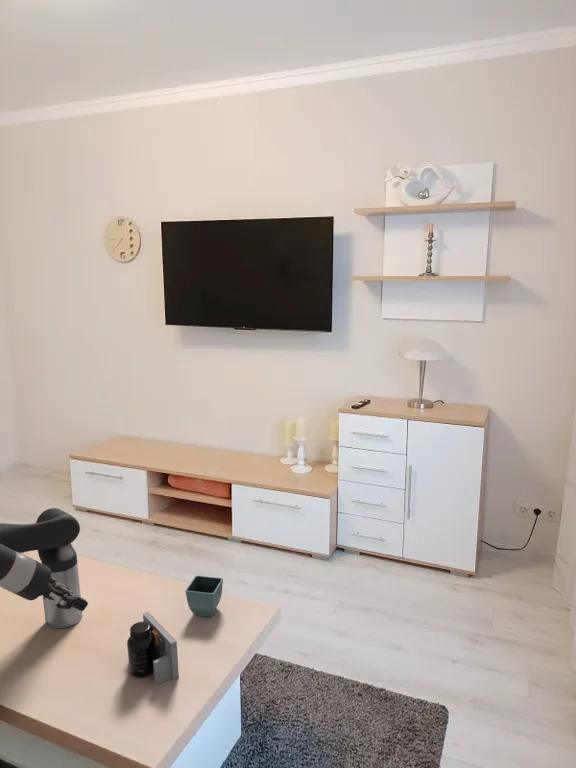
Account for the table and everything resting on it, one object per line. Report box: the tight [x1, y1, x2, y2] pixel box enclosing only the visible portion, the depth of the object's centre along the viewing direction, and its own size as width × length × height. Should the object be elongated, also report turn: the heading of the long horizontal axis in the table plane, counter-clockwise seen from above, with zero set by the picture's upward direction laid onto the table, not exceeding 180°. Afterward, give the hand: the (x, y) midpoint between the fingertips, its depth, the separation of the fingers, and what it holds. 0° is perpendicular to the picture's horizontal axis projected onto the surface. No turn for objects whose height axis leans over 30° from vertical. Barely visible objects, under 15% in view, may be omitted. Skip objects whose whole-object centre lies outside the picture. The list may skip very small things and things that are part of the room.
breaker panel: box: [142, 611, 180, 686], centre depth 144 cm, size 6×16×10 cm, turn 38°
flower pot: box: [185, 575, 224, 618], centre depth 166 cm, size 9×9×9 cm
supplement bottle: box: [126, 621, 157, 679], centre depth 142 cm, size 7×7×12 cm
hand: (84, 606), depth 131 cm, fingers closed
